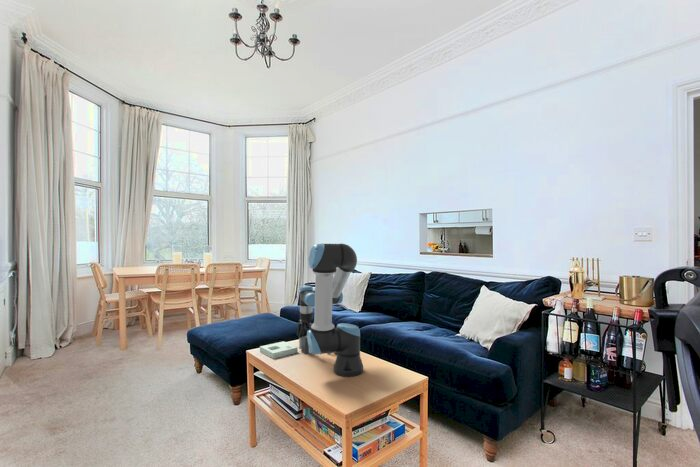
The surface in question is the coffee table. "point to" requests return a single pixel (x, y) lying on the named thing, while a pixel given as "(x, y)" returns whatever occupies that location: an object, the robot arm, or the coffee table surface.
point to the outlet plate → (278, 349)
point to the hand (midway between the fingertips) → (306, 350)
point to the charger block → (304, 345)
